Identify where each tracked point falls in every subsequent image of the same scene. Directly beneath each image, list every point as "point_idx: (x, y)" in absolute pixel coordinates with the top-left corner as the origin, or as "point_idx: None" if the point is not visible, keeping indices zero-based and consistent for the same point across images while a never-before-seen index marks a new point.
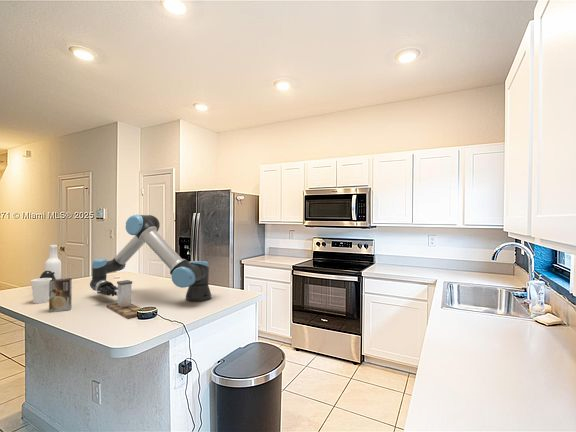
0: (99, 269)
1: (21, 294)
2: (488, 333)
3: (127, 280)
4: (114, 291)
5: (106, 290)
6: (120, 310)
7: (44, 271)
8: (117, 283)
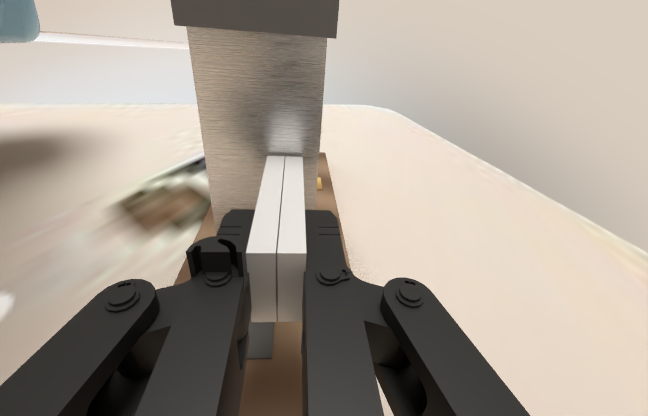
0: None
1: None
2: (87, 39)
3: None
4: (312, 254)
5: (468, 348)
6: (325, 205)
7: None
8: (334, 31)
